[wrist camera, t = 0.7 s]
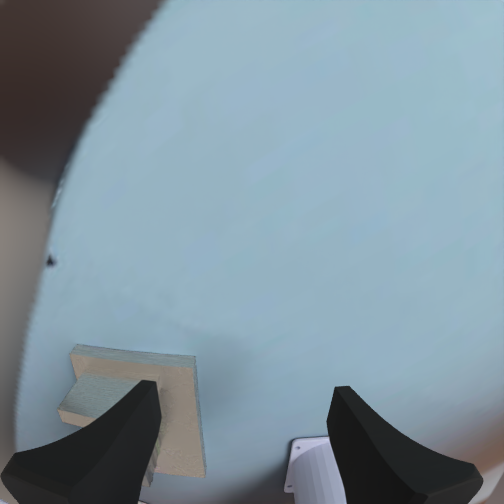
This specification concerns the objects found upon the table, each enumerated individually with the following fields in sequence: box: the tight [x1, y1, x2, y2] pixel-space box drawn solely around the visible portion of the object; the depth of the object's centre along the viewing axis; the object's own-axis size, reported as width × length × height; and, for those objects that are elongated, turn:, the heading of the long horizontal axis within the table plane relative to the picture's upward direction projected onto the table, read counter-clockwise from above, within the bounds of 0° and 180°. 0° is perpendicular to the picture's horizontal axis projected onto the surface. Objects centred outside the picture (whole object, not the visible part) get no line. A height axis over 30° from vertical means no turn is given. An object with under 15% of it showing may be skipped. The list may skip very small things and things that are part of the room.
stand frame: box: [57, 344, 206, 478], centre depth 21 cm, size 14×10×7 cm
